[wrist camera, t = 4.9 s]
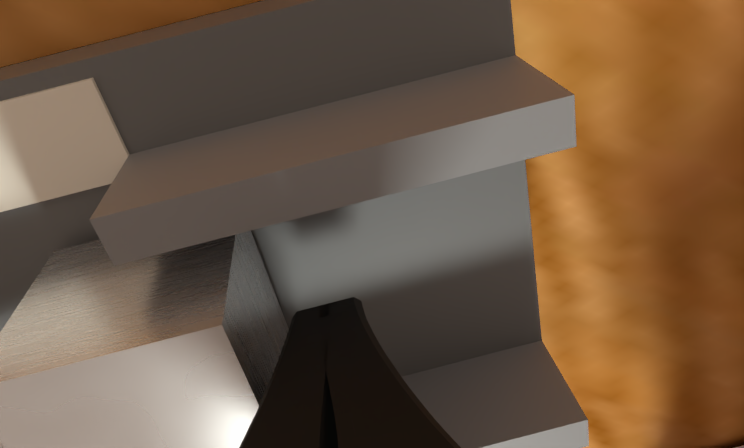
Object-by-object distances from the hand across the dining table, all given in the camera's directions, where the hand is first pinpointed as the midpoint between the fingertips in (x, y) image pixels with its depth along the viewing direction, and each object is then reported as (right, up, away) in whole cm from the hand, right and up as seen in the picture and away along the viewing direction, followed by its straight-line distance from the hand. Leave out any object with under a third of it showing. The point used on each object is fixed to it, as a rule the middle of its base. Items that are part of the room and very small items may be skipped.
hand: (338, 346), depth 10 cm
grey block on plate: (-4, 0, +1) cm, 5 cm away
